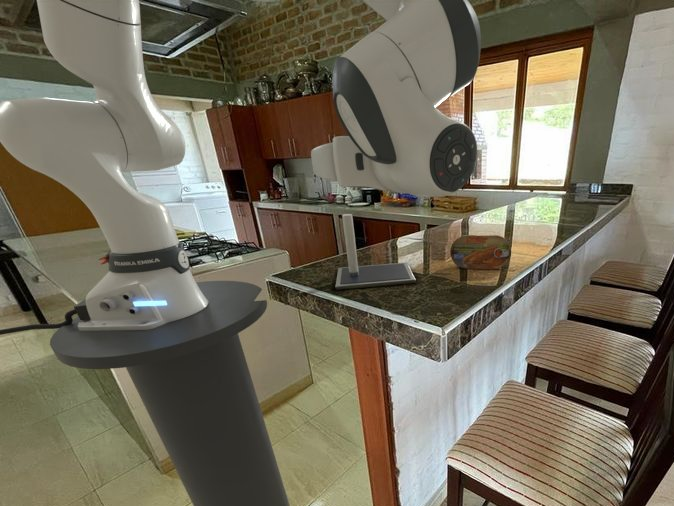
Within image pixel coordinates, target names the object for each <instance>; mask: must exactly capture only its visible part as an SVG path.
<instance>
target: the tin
mask: <svg viewBox="0 0 674 506" xmlns="http://www.w3.org/2000/svg"><path fill="white" fill-rule="evenodd" d="M449 255H450V258H451V261H452V262H453V264H455V265H456V266H457V267H458V268H461V269H467V270H499V269H502V268H503V267H505V266H507V264H508V263H509V262H510V260H511V257H512V247H511V245H510V242H509V240H507V239H506V238H505V237H504V236H501V235H497V234H464V235H461V236H459V237H457V238H456V239H455V240H454V241H453V242H452V244H451V246H450V251H449Z"/></svg>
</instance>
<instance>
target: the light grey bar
mask: <svg viewBox="0 0 674 506" xmlns="http://www.w3.org/2000/svg"><path fill="white" fill-rule="evenodd" d="M341 217H342V226H343V232H344V233H343V234H344V241H345V251H346V256H347V265H348V266H347V267H349V274H350V276H356V275H359V271H358V266H359V264H358V263H359V262H358V255H357V245H356V237H355V236H356V235H355V228H354V218H353V214H352V213H343V214H341Z"/></svg>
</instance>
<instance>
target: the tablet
mask: <svg viewBox="0 0 674 506" xmlns="http://www.w3.org/2000/svg"><path fill="white" fill-rule="evenodd" d="M358 271H359V275H356V276H350V274H349V266H342V267H338V268H337V275H336V281H335V286H334V287H335V290H336V291H339V290H351V289H352V290H353V289H363V288H364V289H365V288H374V287H385V286H386V287H387V286H398V285H408V284H416V283H417V282H416V278H415V276H414V274H413V271H412V270H411V268H410V265H409V264H408V262H397V263H395V262H394V263H386V264H385V263H382V264H369V265H358Z"/></svg>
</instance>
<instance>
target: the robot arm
mask: <svg viewBox="0 0 674 506" xmlns="http://www.w3.org/2000/svg"><path fill="white" fill-rule="evenodd" d="M252 1H253V2H260V3H270V2H276V1H277V0H251V2H252ZM361 1H362V2H363V3H365V4H366V5H367V6H368V7H370V8H371V9H372V10H373V11H374V12H376V14H378V15H379V16H381V17H382V18H383V19H385V22H384V23H383V24H381V25H380V26H379V27H377V28H375V30H373V31H371V32H370V33H368V34H367V35H365V37H363V38H362V39H360V40H359V41H357V42H356V43H355V44H353V46H351V47H349V49H347V50H346V51H345V52H344V53H342V54H341V55H340V56H339V57H337V58H336V59H335V61H334V64H333V69H332V79H331V80H332V83H331V84H332V98H333V105H334V106H333V107H334V110H335V112H336V116H337V118H338V120H339V122H340V124H341V126H342V127H343V129H344V131H345V132H346V135H345V134H344V135H340V136H339V135H338V136H334V137H332V142H329V143H328V142H327V143H324V144H321V145H319V146H316V147H313V149H311V151H310V158H311V165H312V169H313V174H314V175H315V176H316V177H318V178H320V179H324V180H327V181H331V182H337V185H338V186H339V187H342V188H367V189H369V188H370V189H374V190H377V191H382V192H383V191H384V192H390V193H396V194H397V193H398V194H408V195H410V196H415V197H416V196H417V197H424V198H440V197H446V196H449V195H453V194H454V193H456V192H458V191H459V190H460V189H461V188H463V187H464V186H465V184H466V183H467V182H468V181H469V179H470V178H471V176H472V174H473V172H474V169H475V167H476V163H477V158H478V143H477V138H476V136H475V134H474V132H473V130H472V129H471V128H470V127H469V126H468V125H467V124H465V123H464V122H462V121H459V120H456V119H453V118H451V117H448V116H447V115H446V114H444V113H442V111H440V110H439V109H438V108H437V107H438V106H439V105H440V104H441V103H442V102H444V101H445V100H446V99H449V98H450V97H452V96H454V95H455V94H456V93H458V92H460V91H461V90H463V89H464V88H465V87H467V86H469V85H470V84H471V83H472V81H473V80H474V78H475V76H476V73H477V71H478V68H479V64H480V59H481V49H482V34H481V26H480V21H479V19H478V16H477V13H476V11H475V10H474V8H473V6H472V4H471V3H470V2H469V0H361ZM36 4H37V10H38V14H39V20H40V26H41V32H42V37H43V42H44V44H45V46H46V48H47V50H48V51H49V53H50V54H51V56H52V57H53V58H54V59H55V60H56V62H57V63H59V64H60V65H61V66H62V67H64V69H66V70H67V71H68V72H70V73H72V74H73V75H75V76H76V77H78V78H80V79H82V80H83V81H85V82H87V83H89V84H90V85H92V87H93V89H94V92H95V101H82V100H74V99H73V100H72V99H64V98H63V99H61V98H52V97H51V98H50V97H30V98H29V97H28V98H18V99H9V100H3V101H1V102H0V144H1V145H2V147H4V149H5V150H6V151H7V153H9V154H10V155H11V157H13V158H14V159H15V160H17V161H18V162H19V163H20V164H22V165H24V166H25V167H27V168H29V169H31V170H33V171H35V172H38V173H40V174H43V175H44V176H47V177H49V178H51V179H53V180H54V181H56V182H58V183H59V184H61V185H63V186H64V187H65V188H67V189H68V190H69V191H70V192H71V193H73V194H74V195H75V196H76V197H77V198H78V199H80V201H82V202H83V203H84V205H85V206H86V207H87V208H88V209H89V210H90V213H92V215H93V217H94V219H95V220H96V222H97V224H98V226H99V228H100V231H101V232H102V234H103V236H104V238H105V240H106V243H107V244H108V247H109V249H110V251H109V252H108V253H107V254H105V256H103V257H100V258H98V259H97V261H101V262H100V263H99V264H100V265H104V264H107V263H108V272H107V273H106V274H105V275H104V276H103V277H102V278H101V279H100V280H99V281H98V282H97V283H96V284H95V286H94V287H92V288H91V289H90V290H89V291H88V293H87V294H86V296H85V298H84V299H83V300H82V301H79V303H77V304H76V305H74V306H73V309H71V310H69V311H67V312H65V314H64V319H65V320H64V321H62V322H59V323H36V324H35V323H34V324H27V325H20V326H15V327H14V326H13V327H8V328H3V329H0V336H2V335H8V334H13V333H21V332H25V331H33V330H58V329H59V328H61V327H62V326H64V325H68V324H71V323H72V322H73V319H74V318H73V316H75V315H77V317H78V316H79V318H80V320H81V321H80V322H79V324H78V328H79V331H110V330H150V329H153V328H156V327H159V326H161V325H164V324H166V323H169V322H172V321H175V320H179V319H182V318H185V317H188V316H190V315H193V314H195V313H197V312H199V311H201V310H202V309H204V308H205V307H206V306H207V305H208V300H207V299H206V298H205V296H204V295H203V293H202V292H201V290H200V289H199V287H198V285H197V283H196V282H197V281H196V279H195V278H194V276H193V274H192V271H191V269H190V268H191V266H190V262H189V258H188V255H187V253H186V250H185V247H184V244H183V242H181V241H180V240H179V237H178V235H177V232H176V229H175V226H174V222H173V220H172V217H171V214H170V211H169V209H168V207H167V206H166V205H165V203H163V201H161V200H160V199H158V198H157V197H154V196H152V195H149V194H147V193H144V192H141V191H138V190H136V189H135V188H134V187H132V186H131V184H129V182H128V181H127V180H126V178H125V176H124V174H123V173H132V172H133V173H134V172H153V171H156V172H157V171H160V170H163V169H169V168H172V167H175V166H178V165H180V164H182V162H183V160H184V158H185V155H186V148H187V147H186V142H185V138H184V135H183V133H182V131H181V129H180V127H179V126H178V125H177V124H176V123H175V121H174V120H173V119H172V118H171V117H169V116H168V115H167V114H166V113H165V112H164V111H163V110H162V109H161V108H160V106H159V105H158V103H157V102H156V101H155V99H154V97H153V95H152V92H151V90H150V88H149V85H148V82H147V77H146V71H145V64H144V54H143V53H144V52H143V41H142V21H141V8H140V0H36Z"/></svg>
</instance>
